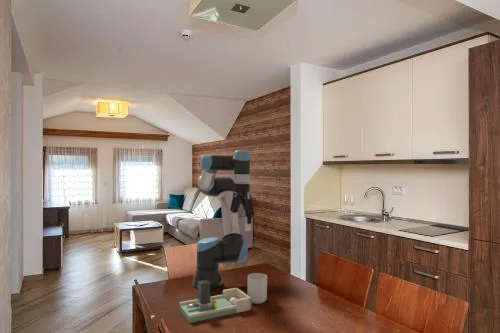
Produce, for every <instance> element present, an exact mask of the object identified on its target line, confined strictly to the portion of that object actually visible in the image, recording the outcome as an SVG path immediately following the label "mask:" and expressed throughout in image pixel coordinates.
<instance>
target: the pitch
mask: <svg viewBox="0 0 500 333" xmlns="http://www.w3.org/2000/svg"><path fill="white" fill-rule="evenodd" d="M211 297H212V298H213V299H214V300H215V301H216V302H217V308H210V309H205V310H200V311H199V310H198V309H197V307H194V308H189V309H187V305H191V304H194V300H197V299H198V298H196V299H191V300H185V301H179V303H178V304H179V307H178V308H179V311H180V312H181V314H182V315H183V316H184V318H185V319H186V320H187V322H189V324H192V323H197V322H200V321H205V320H210V319H216V318H219V317H224V316H229V315H233V314H238V313H241V312H246V311H251V310H252V303H251V297H249V296H248V295H247V294H246V293H245V292H244V291H242V290H241V289H240V288H238V287H233V288H232V287H231V288H228V289H223V290H222V294H217V295H213V296H211ZM233 297H235V298H236V299H237V300H236V305H234V306H233V305H232V304H231V303H230V302H229V301H230V299H231V298H233Z"/></svg>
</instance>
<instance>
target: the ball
mask: <svg viewBox="0 0 500 333" xmlns="http://www.w3.org/2000/svg"><path fill="white" fill-rule="evenodd" d="M236 300H237V299H236V298H235V297H233V298H231V299H230V301H229V302H230V303H231V304H232V305H233V306H234V305H236Z"/></svg>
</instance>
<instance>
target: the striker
mask: <svg viewBox="0 0 500 333" xmlns="http://www.w3.org/2000/svg"><path fill="white" fill-rule="evenodd" d="M196 299H197V300H195V299H193V300H194V304H191V305H187V309H189V308H194V307H197V309H198V310H199V311H200V310H205V309H210V308H217V302H216V301H215V300H214V299H213V298H212V296H211V289H210V282H209V281H208V280H202V281H198V288H197V298H196Z"/></svg>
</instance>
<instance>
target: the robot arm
mask: <svg viewBox="0 0 500 333" xmlns="http://www.w3.org/2000/svg"><path fill="white" fill-rule="evenodd" d="M250 154H251V152H250V151H249V150H235V151H234V154H233V155H228V154H227V155H223V154H222V155H220V154H217V155H216V154H203V155H201V157H200V169H201V170H202V171H201V173H200V176H199V177H198V179H197V182H196V186H197V189H198V191H199V192H201V193H202V194H203V195H205V196H208V197H217V201H219V202H220V208H221V219H222V227H223V228H222V229H223V236H222V238H221V240H220V238H219V237H216V236H215V237H213V236H212V237H205V238H202V239H200V240H198V241H197V244H196V249H195V251H196V261H195V262H196V263H195V264H196V265H195V266H196V269H195V272H194V276H193V279H192V286H193V287H194V288H197V289H198V281H202V280H208V281H209V282H210V290H211V289H212V290H213V289H216V288H219V287H221V286H222V285H223V278H222V274H221V271H220V264H231V263H232V264H234V263H235V264H236V263H237V264H239V263H243V262H245V261H246V259H247V256H248V249H249V248H248V247H249V246H248V245H249V244H248V240H247V239H246V238H244V236H243V234H242V233H241V232H240V227H239V226H240V225H239V208H240V206H241V205H242V207H243V210H244V213H245V216H244V217H245V218H244V231H245V232H251V231H252V217H253V216H254V215H255V211H254V207H253V201H252V194H251V193H250V194H249V192H250V190H251V189H250V188H251V187H250V186H251V185H250V184H249V183H251V182H250V181H251V172H250V171H251V155H250ZM218 171H230V172H231V171H233V177H230V176H228V177H227V176H226V177H224V176H223V177H221V176H219V177H218V176H216V175H217V172H218Z"/></svg>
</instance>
